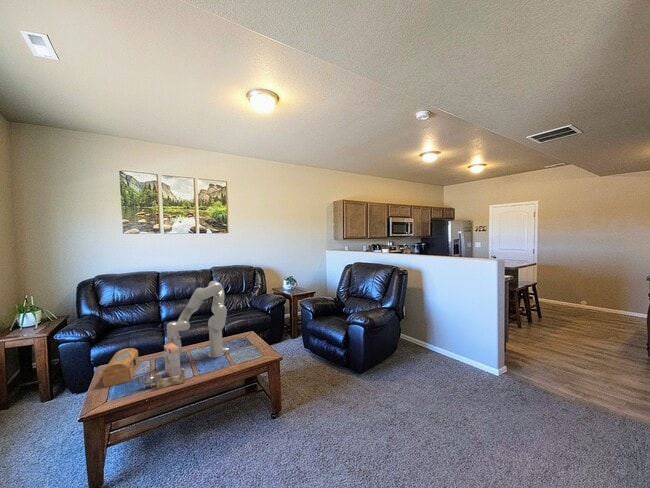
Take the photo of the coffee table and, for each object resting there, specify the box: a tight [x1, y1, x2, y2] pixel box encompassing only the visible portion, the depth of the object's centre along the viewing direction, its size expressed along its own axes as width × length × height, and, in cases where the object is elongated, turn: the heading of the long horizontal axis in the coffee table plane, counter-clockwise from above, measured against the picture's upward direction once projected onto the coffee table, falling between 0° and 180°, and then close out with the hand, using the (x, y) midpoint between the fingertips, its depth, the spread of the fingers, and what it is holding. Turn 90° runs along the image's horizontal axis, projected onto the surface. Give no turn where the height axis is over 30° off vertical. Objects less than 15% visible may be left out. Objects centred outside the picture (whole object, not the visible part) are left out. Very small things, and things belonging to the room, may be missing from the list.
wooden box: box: [101, 347, 139, 388], centre depth 197 cm, size 30×16×14 cm, turn 24°
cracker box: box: [163, 343, 181, 378], centre depth 193 cm, size 14×6×21 cm, turn 47°
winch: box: [136, 373, 158, 390], centre depth 179 cm, size 11×4×8 cm, turn 115°
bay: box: [156, 367, 186, 390], centre depth 185 cm, size 16×10×9 cm, turn 115°
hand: (174, 362), depth 208 cm, fingers closed
